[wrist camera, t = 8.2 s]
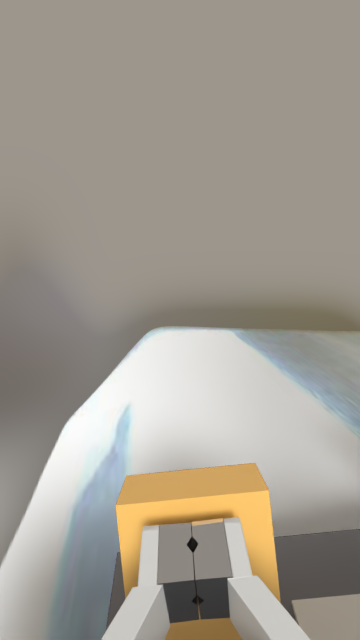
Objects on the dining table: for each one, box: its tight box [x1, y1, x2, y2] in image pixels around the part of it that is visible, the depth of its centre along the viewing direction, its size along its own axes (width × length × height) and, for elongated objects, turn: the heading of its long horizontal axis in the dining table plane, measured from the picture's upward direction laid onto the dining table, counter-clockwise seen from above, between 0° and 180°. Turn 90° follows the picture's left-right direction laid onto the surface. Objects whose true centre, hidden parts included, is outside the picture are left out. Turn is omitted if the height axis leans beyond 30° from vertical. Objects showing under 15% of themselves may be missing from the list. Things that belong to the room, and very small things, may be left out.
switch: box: [116, 463, 281, 640], centre depth 11 cm, size 5×2×8 cm, turn 92°
